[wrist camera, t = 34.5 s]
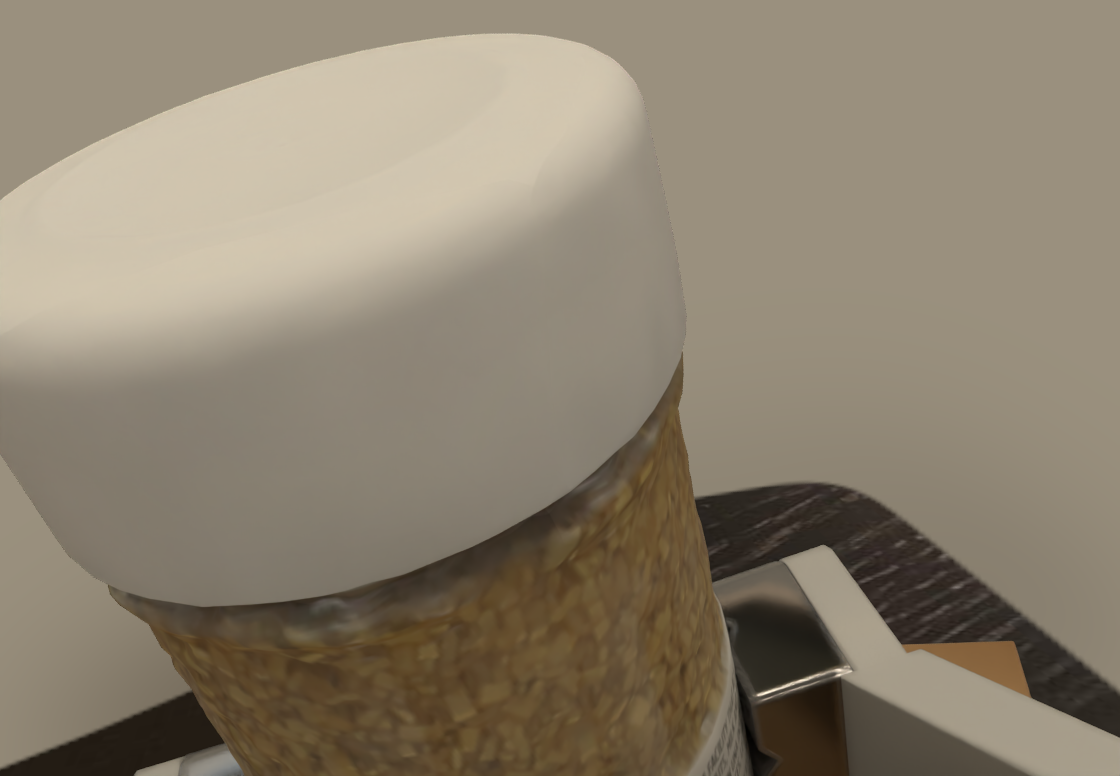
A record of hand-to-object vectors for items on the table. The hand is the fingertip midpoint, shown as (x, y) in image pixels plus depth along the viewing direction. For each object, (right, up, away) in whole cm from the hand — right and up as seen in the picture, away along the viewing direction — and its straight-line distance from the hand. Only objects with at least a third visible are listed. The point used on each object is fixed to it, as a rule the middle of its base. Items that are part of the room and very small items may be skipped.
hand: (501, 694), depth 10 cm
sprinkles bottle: (+2, -6, +3) cm, 7 cm away
